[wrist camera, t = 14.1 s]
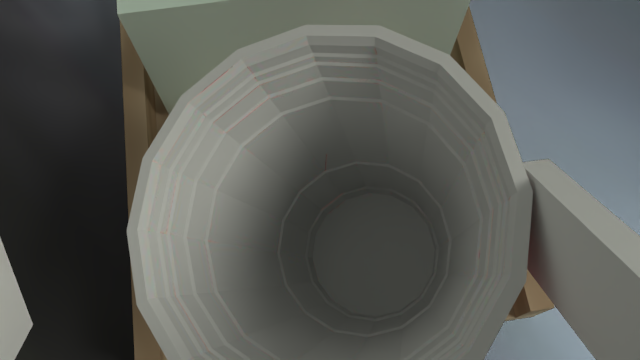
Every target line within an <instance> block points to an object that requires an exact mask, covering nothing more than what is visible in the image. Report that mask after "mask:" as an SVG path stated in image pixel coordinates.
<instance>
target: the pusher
mask: <svg viewBox="0 0 640 360" xmlns="http://www.w3.org/2000/svg"><path fill="white" fill-rule="evenodd" d="M470 1H471V0H117V15H118V17H119V19H120V21H121V23H122V24H123V26H124V28H125V30H126V32H127V34H128V36H129V38H130V40H131V42H132V44H133V46H134V48H135V50H136V52H137V54H138V55H139V57H140V59H141V61H142V63H143V65H144V67H145V69H146V71H147V73H148V75H149V77H150V79H151V81H152V83H153V85H154V86H155V88H156V90H157V92H158V94H159V96H160V98H161V100H162V102H163V104H164V106H165V108H166V110H167V112H168V114H170V113H171V111H172V110H173V108H174V106H175V105H176V103H177V101H178V100H179V98H180V97H181V95H183V94H184V93H185V92H186V91H187V90H189V89H190V88H191V87H192V86H193V85H195V84H196V83H197V82H198V81H200V80H201V79H202V78H203V77H204V76H206V75H207V74H208V73H209V72H211V71H212V70H213V69H214V68H215V67H217V66H218V65H219V64H220V63H221V62H223V61H224V60H225V59H226V58H228V57H229V56H230V55H231V54H232V53H234V52H235V51H236V50H237V49H240V48H243V47H246V46H248V45H251V44H254V43H257V42H259V41H262V40H265V39H268V38H270V37H273V36H276V35H279V34H281V33H284V32H287V31H290V30H292V29H295V28H298V27H301V26H303V25H380V26H382V27H385V28H387V29H389V30H392V31H394V32H396V33H399V34H401V35H404V36H406V37H408V38H411V39H413V40H416V41H418V42H420V43H423V44H425V45H428V46H430V47H432V48H435V49H437V50H439V51H442V52H444V53H447V54H449V55H450V54H451V51H452V49H453V46H454V43H455V41H456V38H457V35H458V33H459V30H460V27H461V25H462V22H463V19H464V17H465V14H466V12H467V9H468V6H469V4H470Z"/></svg>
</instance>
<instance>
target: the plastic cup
mask: <svg viewBox="0 0 640 360" xmlns="http://www.w3.org/2000/svg"><path fill="white" fill-rule="evenodd" d="M532 200H533V190H532V187H531V184H530V181H529V179H528V176H527V173H526V170H525V167H524V165H523V162H522V159H521V156H520V154H519V151H518V148H517V145H516V142H515V140H514V137H513V134H512V131H511V128H510V126H509V123H508V120H507V117H506V115H505V112H504V111H503V110H502V109H501V108H500V107H499V106H498V105H497V104H496V103H495V102H494V100H493V99H492V98H491V97H490V96H489V95H488V94H487V93H486V92H485V91H484V90H483V89H482V88H481V87H480V86H479V85H478V84H477V83H476V82H475V81H474V80H473V79H472V78H471V77H470V76H469V74H468V73H467V72H466V71H465V70H464V69H463V68H462V67H461V66H460V65H459V64H458V63H457V62H456V61H455V60H454V59H453V58H452V57H451V56H450V55H449V54H447V53H444V52H442V51H439V50H437V49H435V48H432V47H430V46H428V45H425V44H423V43H420V42H418V41H416V40H413V39H411V38H408V37H406V36H404V35H401V34H399V33H396V32H394V31H392V30H389V29H387V28H385V27H382V26H380V25H303V26H301V27H298V28H295V29H292V30H290V31H287V32H284V33H281V34H279V35H276V36H273V37H270V38H268V39H265V40H262V41H259V42H257V43H254V44H251V45H248V46H246V47H243V48H240V49H237V50H236V51H235V52H234V53H232V54H231V55H230V56H229V57H228V58H226V59H225V60H224V61H223V62H221V63H220V64H219V65H218V66H217V67H215V68H214V69H213V70H212V71H211V72H209V73H208V74H207V75H206V76H204V77H203V78H202V79H201V80H200V81H198V82H197V83H196V84H195V85H193V86H192V87H191V88H190V89H189V90H187V91H186V92H185V93H184V94H183V95H181V97H180V98H179V100H178V101H177V103H176V105H175V106H174V108H173V110H172V111H171V113H170V114H169V116H168V118H167V119H166V121H165V123H164V124H163V126H162V127H161V129H160V131H159V132H158V134H157V135H156V137H155V139H154V140H153V142H152V144H151V145H150V147H149V148H148V150H147V152H146V153H145V155H144V157H143V158H142V163H141V167H140V172H139V176H138V181H137V185H136V190H135V194H134V199H133V203H132V208H131V212H130V217H129V222H128V226H127V238H128V245H129V253H130V260H131V268H132V275H133V282H134V290H135V297H136V305H137V307H138V309H139V310H140V312H141V314H142V316H143V318H144V319H145V321H146V323H147V325H148V326H149V328H150V330H151V332H152V333H153V335H154V337H155V339H156V341H157V342H158V344H159V346H160V348H161V349H162V351H163V353H164V355H165V356H166V358H167V360H484V358H485V356H486V354H487V353H488V351H489V349H490V347H491V345H492V343H493V341H494V340H495V338H496V336H497V334H498V332H499V330H500V329H501V327H502V325H503V323H504V321H505V319H506V318H507V316H508V314H509V312H510V310H511V308H512V306H513V305H514V303H515V301H516V299H517V297H518V295H519V294H520V292H521V290H522V288H523V286H524V284H525V283H526V278H527V265H528V252H529V239H530V226H531V213H532Z"/></svg>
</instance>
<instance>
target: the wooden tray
mask: <svg viewBox="0 0 640 360" xmlns="http://www.w3.org/2000/svg"><path fill="white" fill-rule="evenodd" d="M120 35H121V58H122V81H123V104H124V127H125V150H126V173H127V195H128V218H129V217H130V212H131V208H132V203H133V199H134V194H135V190H136V185H137V181H138V176H139V172H140V167H141V163H142V158H143V157H144V155H145V153H146V152H147V150H148V148H149V147H150V145H151V144H152V142H153V140H154V139H155V137H156V135H157V134H158V132H159V131H160V129H161V127H162V126H163V124H164V123H165V121H166V119H167V118H168V116H169V114H168V112H167V110H166V108H165V106H164V104H163V102H162V100H161V98H160V96H159V94H158V92H157V90H156V88H155V86H154V85H153V83H152V81H151V79H150V77H149V75H148V73H147V71H146V69H145V67H144V65H143V63H142V61H141V59H140V57H139V55H138V54H137V52H136V50H135V48H134V46H133V44H132V42H131V40H130V38H129V36H128V34H127V32H126V30H125V28H124V26H123V24H122V23H121V21H120ZM450 56H451V57H452V58H453V59H454V60H455V61H456V62H457V63H458V64H459V65H460V66H461V67H462V68H463V69H464V70H465V71H466V72H467V73H468V74H469V76H470V77H471V78H472V79H473V80H474V81H475V82H476V83H477V84H478V85H479V86H480V87H481V88H482V89H483V90H484V91H485V92H486V93H487V94H488V95H489V96H490V97H491V98H492V99H493V100H494V102H495V103H496V99H495V96H494V92H493V89H492V85H491V82H490V78H489V75H488V71H487V68H486V64H485V61H484V57H483V53H482V50H481V46H480V43H479V39H478V36H477V32H476V29H475V25H474V22H473V18H472V15H471V11H470V8H469V6H468V9H467V12H466V14H465V17H464V19H463V22H462V25H461V27H460V30H459V33H458V35H457V38H456V41H455V43H454V46H453V49H452V51H451V54H450ZM496 104H497V103H496ZM130 264H131V260H130ZM131 287H132V310H133V333H134V355H135V360H167V358H166V356H165V355H164V353H163V351H162V349H161V348H160V346H159V344H158V342H157V341H156V339H155V337H154V335H153V333H152V332H151V330H150V328H149V326H148V325H147V323H146V321H145V319H144V318H143V316H142V314H141V312H140V310H139V309H138V307H137V305H136V297H135V290H134V282H133V275H132V268H131ZM552 308H555V307H554V304H553V303H552V301H551V300H550V299H549V297H548V296H547V295H546V293H545V292H544V291H543V289H542V288H541V287H540V285H539V284H538V283H537V281H536V280H535V279H534V277H533V276H532V275H531V274H530V272H529V271H528V270H527V278H526V283H525V284H524V286H523V288H522V290H521V292H520V294H519V295H518V297H517V299H516V301H515V303H514V305H513V306H512V308H511V310H510V312H509V314H508V316H507V318H506V319H505V321H509V320H515V319H522V318H528V317H533V316H535V315H538V314H540V313H543V312H545V311H548V310H550V309H552Z"/></svg>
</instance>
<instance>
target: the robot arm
mask: <svg viewBox="0 0 640 360" xmlns="http://www.w3.org/2000/svg"><path fill="white" fill-rule="evenodd" d="M523 165H524V167H525V170H526V173H527V176H528V179H529V181H530V184H531V187H532V190H533V200H532V213H531V226H530V239H529V252H528V265H527V270H528V271H529V272H530V274H531V275H532V276H533V277H534V279H535V280H536V281H537V283H538V284H539V285H540V287H541V288H542V289H543V291H544V292H545V293H546V295H547V296H548V297H549V299H550V300H551V301H552V303H553V304H554V305H555V306H556V308H557V309H558V310H559V312H560V313H561V314H562V316H563V317H564V318H565V320H566V321H567V322H568V324H569V325H570V326H571V328H572V329H573V330H574V331H575V333H576V334H577V335H578V337H579V338H580V339H581V341H582V342H583V343H584V345H585V346H586V347H587V349H588V350H589V351H590V353H591V354H592V355H593V357H594V358H595V359H596V360H640V236H639V235H638V234H637V233H635V232H634V231H633V230H632V229H631V228H629V227H628V226H627V225H626V224H625V223H624V222H622V221H621V220H620V219H619V218H618V217H616V216H615V215H614V214H613V213H612V212H611V211H609V210H608V209H607V208H606V207H605V206H604V205H602V204H601V203H600V202H599V201H598V200H596V199H595V198H594V197H593V196H592V195H591V194H589V193H588V192H587V191H586V190H585V189H583V188H582V187H581V186H580V185H579V184H578V183H576V182H575V181H574V180H573V179H572V178H571V177H569V176H568V175H567V174H566V173H565V172H563V171H562V170H561V169H560V168H559V167H558V166H556V165H555V164H554V163H553V162H552V161H550V160H549V159H543V160H536V161H529V162H523ZM32 326H33V323H32V321H31V318H30V315H29V313H28V310H27V307H26V305H25V302H24V299H23V297H22V294H21V291H20V289H19V286H18V283H17V281H16V278H15V275H14V273H13V270H12V267H11V265H10V262H9V259H8V257H7V254H6V251H5V249H4V246H3V243H2V241H1V238H0V360H15V358H16V356H17V354H18V352H19V350H20V348H21V347H22V345H23V343H24V341H25V339H26V337H27V335H28V333H29V331H30V330H31V328H32Z"/></svg>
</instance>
